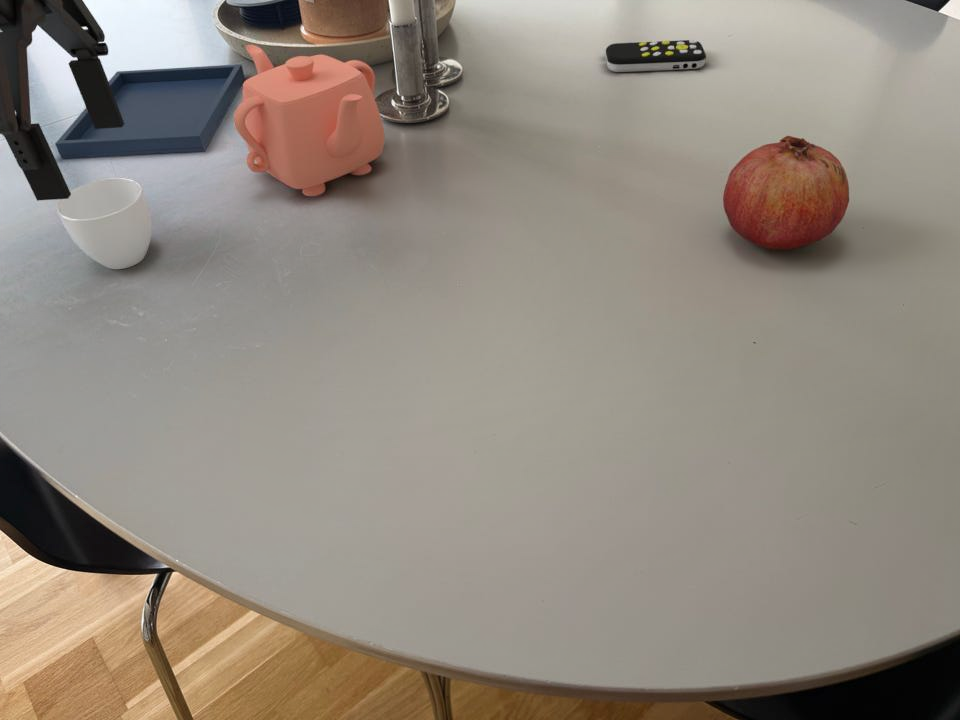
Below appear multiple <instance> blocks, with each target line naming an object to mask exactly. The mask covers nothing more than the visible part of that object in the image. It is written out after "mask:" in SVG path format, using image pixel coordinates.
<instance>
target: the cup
mask: <svg viewBox="0 0 960 720" xmlns="http://www.w3.org/2000/svg"><path fill="white" fill-rule="evenodd" d="M69 191H70V190H69ZM70 193H71V195H70V196H69V198H68V199H59V201H58V203H57V206H56V211H57V214H58V216H59V218H60V221H61V223H62V225H63V226H64V228H65V230H66V232H67V234H68V235H69V237H70V238H71V240H72V241H73V242H74V243H75V245H76V246H77V247H78V248H79V249H80V250H81V251H82V252H83V253H84V254H85V255H86V256H87V257H89V258H90V259H91V260H93V261H94V262H96V263H97V264H99V265H102V266H103V267H105V268H106V269H110V270H124V269H127V268H131V267H133V266H135V265H137V264H139V263H140V262H142V261H143V260H144V259H145V257H146V256H147V253H148V249H149V247H150V243H151V238H152V231H153V230H152V229H153V228H152V225H153V224H152V223H153V222H152V214H151V211H150V206H149V203H148V200H147V198H146V194H145V192H144V190H143V187H142V185H141V183H139V182H138V181H136V180H134V179H130V178H126V177H109V178H101V179H97V180H93V181H90V182H86V183H84V184H81V185H79V186H77V187H75V188H74V189H72V190H71V191H70Z"/></svg>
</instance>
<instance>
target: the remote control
mask: <svg viewBox="0 0 960 720" xmlns="http://www.w3.org/2000/svg"><path fill="white" fill-rule="evenodd" d="M706 59H707V54H706V52H705V50H704V48H703V45H702V43H701V42H700V41H698V40H697V39H685V40H683V39H682V40H681V39H680V40H662V41H661V40H660V41H656V40H655V41H654V40H653V41H637V42H618V43H611V44H609V45H608V46H607V47H606V48H605V62H606V67H607V69H608V70H609V71H611V72H613V73H631V72H633V73H634V72H654V71H655V72H656V71H677V70H678V71H679V70H696V69H697V70H698V69H701V68H702V67H703V66H704V65H705V64H706Z"/></svg>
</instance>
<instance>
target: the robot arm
mask: <svg viewBox="0 0 960 720" xmlns="http://www.w3.org/2000/svg"><path fill="white" fill-rule="evenodd" d="M37 27H39V28H40V29H41V30H42V31H43V32H44V33H46V35H48V36H49V37H50V38H51V40H53V41H54V42H55V43H57V45H58V46H59V47H61V49H63V50H64V51H65V52H66V53H67V54H68V55H70V56H71V57H72V60H70V61H69V62H68V66H69V69H70V72H71V73H72V76H73V79H74V81H75V84H76V86H77V88H78V91H79V93H80V95H81V98H82V101H83V103H84V105H85V108H87V110H88V113H89V115H90V118H91V120H92V123H93V125H94V127H95V129H103V128H119V127H123V125H124V121H123V119H122V116H121V113H120V111H119V108H118V106H117V103H116V100H115V98H114V95H113V92H112V90H111V87H110V85H109V80H108V77H107V74H106V72H105V68H104V65H103V63H102V61H101V59H100V58H99V57H105V56H109V46H108V44H107V43H106V42H105V38H106V37H105V36H106V35H105V33H104V30H103V28H101V27H102V26H101V25H100V24H99V23H98V21H97V19H96V18H95V17H94V15H93V14H92V12H91V11H90V9H89V7H88V6H87V5H86V3H85V1H84V0H0V135H2V136H3V137H4V139H5V141H6V143H7V145H8V147H9V149H10V151H11V153H12V154H13V157H14V159H15V161H16V163H17V165H18V167H19V168H20V169H21V170H22V172H23V174H24V177H25V179H26V182H27V183H28V184H29V187H30V189H31V191H32V193H33V195H34V197H35V199H36V201H53V200H54V201H55V200H61V199H68V198H69V196H70V195H71V193H70V188H69V186H68V184H67V181H66V180H65V177H64V176H63V173H62V171H61V169H60V166H59V164H58V162H57V160H56V158H55V156H54V154H53V151H52V150H51V147H50V144H49V142H48V141H47V138H46V136H45V133H44V132H43V129H42V127H41V124H40V122H37V123H32V116H31V101H30V100H31V98H30V97H31V96H30V81H29V80H30V77H29V63H28V47H29V46H30V45H31V44H32V43H33V32H35V31H36V29H37ZM84 28H85V29H84ZM73 58H76V59H73Z"/></svg>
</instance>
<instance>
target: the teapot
mask: <svg viewBox="0 0 960 720" xmlns="http://www.w3.org/2000/svg"><path fill="white" fill-rule="evenodd" d="M245 49H246V51H247V53H248V55H249V56H250V58H252V61H253V63H254V66H255V69H256V72H257V74H256V75H252V76H251V77H249V78H248V79H245V80H244V81H243V83H242V100H241V102H240V103H239V104H238V106H237V108H236V109H235V111H234V113H233V114H234V115H233V124H234V127H235V129H236V131H237V133H238V134H239V136H240V137H241V138H242V139H243V141H244V142H245V143H246V146H247V150H248V151H249V153H248V154H247V155H246V159H245V160H246V161H245V162H246V166H247V167H248V169H249V170H250V171H251V172H253V173H257V174H258V173H260V174H261V173H264V172H266V173H267V174H268V175H270V176H271V177H273V178H275V179H276V180H278V181H279V182H281V183H283V184H285V185H287V186H288V187H291V188H292V189H295V190H301V191H302V194H303V195H304V196H307V197H316V196H320V195H322V194H323V193H325V191H326V188H327V187H326V184H325V183H327V182H329V181H332V180H334V179H337V178H340V177H342V176H345V175H348V174H350V175H353V176H364V175H366V174H368V173H370V172H371V171H372V166H371V165H370V164H369V163H371V162H372V161H374V160H376V159H377V158H378V157H380V156H381V155H382V152H383V149H384V145H385V130H384V125H383V121H382V117H381V113H380V110H379V107H378V104H377V101H376V98H375V96H374V93H375V87H376V76H375V73H374V70H373V68H372V67H371V66H370V65H369V64H367V63H366V62H363V61H361V60H357V59H352V60H348V61H346V62H343V61H341V60H339V59H337V58H335V57H331V56H329V55H326V54H315V55H311V56H310V55H309V56H307V55H299V56H293V57H291V58H289V59H288V60H286V61H285V63H284V64H281V65H278V66H274V65H273V63H272V62H271V60H270V58H269V57H268V56H267V54H266V52H265V51H264V50H263V49H262V48H261V47H259V46H257V45H254V44H247V45H245ZM360 70H361V71H360Z"/></svg>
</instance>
